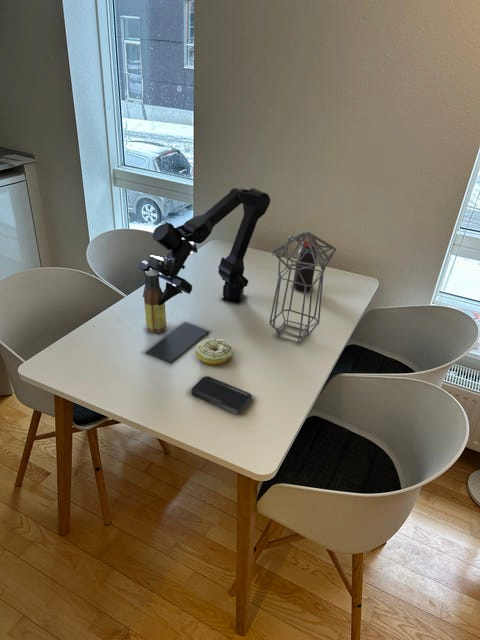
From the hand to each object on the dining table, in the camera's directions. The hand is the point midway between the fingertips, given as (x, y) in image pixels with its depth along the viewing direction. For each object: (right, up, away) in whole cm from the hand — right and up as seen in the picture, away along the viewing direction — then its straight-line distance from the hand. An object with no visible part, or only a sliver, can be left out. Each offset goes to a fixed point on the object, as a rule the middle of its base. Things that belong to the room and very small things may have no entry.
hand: (151, 301), depth 145 cm
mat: (+8, -12, +1) cm, 15 cm away
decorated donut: (+19, -17, -4) cm, 26 cm away
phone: (+22, -26, -19) cm, 39 cm away
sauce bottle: (0, -9, +7) cm, 11 cm away
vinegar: (+51, +6, +36) cm, 63 cm away
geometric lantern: (+44, -11, +8) cm, 46 cm away
